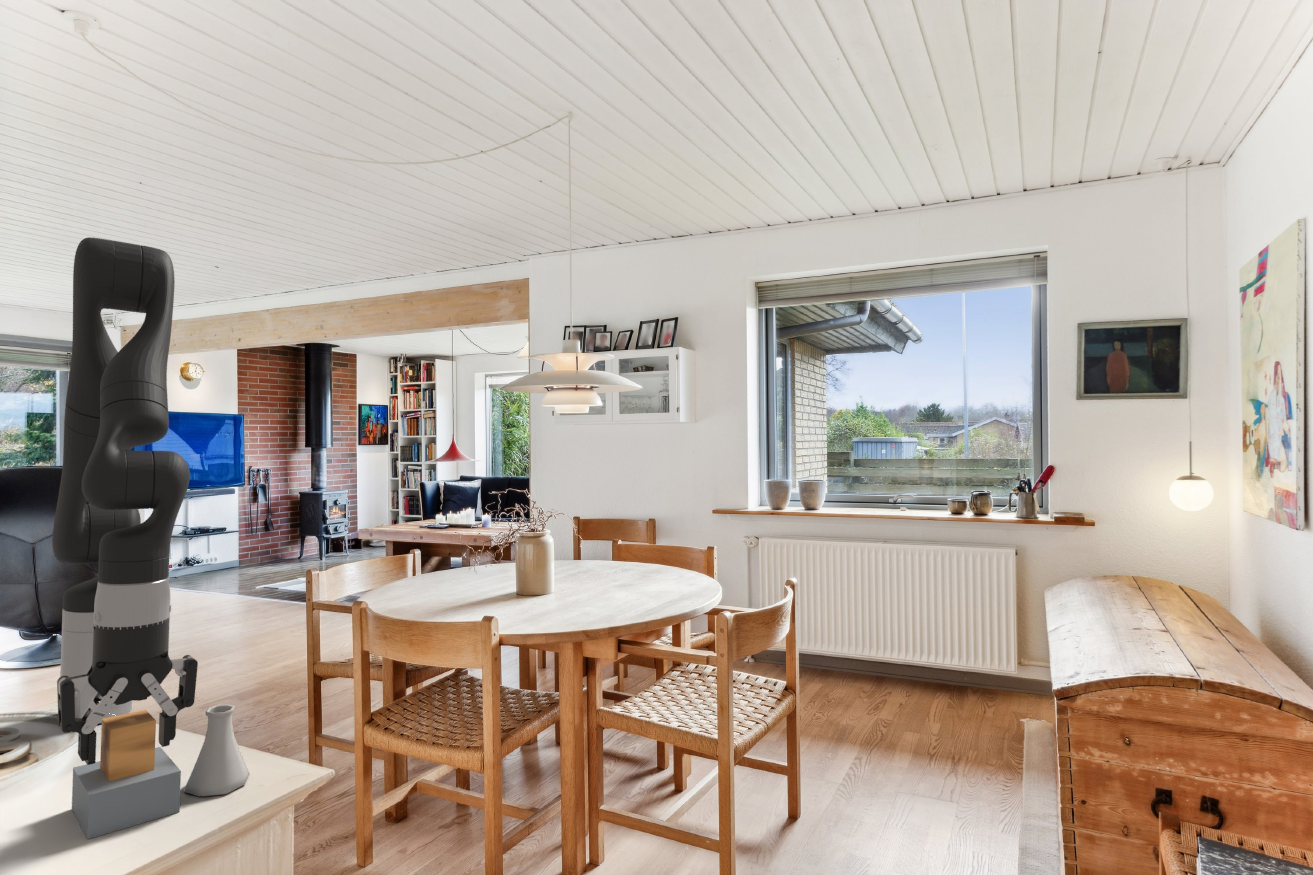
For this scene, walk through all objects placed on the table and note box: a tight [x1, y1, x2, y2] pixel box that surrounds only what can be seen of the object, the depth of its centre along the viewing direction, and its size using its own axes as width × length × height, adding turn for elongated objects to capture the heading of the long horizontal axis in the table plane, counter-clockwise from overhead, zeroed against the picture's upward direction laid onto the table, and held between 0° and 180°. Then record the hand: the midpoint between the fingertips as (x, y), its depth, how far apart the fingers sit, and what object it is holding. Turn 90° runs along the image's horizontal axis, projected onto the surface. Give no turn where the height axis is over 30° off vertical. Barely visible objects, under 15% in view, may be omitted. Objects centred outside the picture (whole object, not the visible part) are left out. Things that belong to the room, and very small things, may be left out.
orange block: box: [99, 709, 157, 781], centre depth 91 cm, size 4×4×6 cm
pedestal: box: [71, 746, 182, 840], centre depth 91 cm, size 9×9×5 cm
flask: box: [183, 703, 250, 797], centre depth 98 cm, size 7×7×10 cm
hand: (127, 752), depth 91 cm, fingers open, 7 cm apart
